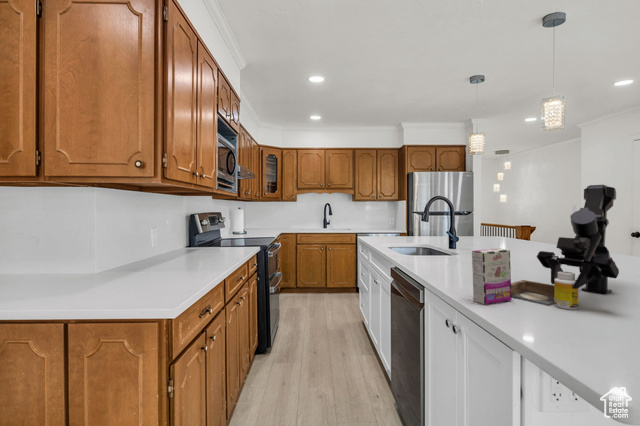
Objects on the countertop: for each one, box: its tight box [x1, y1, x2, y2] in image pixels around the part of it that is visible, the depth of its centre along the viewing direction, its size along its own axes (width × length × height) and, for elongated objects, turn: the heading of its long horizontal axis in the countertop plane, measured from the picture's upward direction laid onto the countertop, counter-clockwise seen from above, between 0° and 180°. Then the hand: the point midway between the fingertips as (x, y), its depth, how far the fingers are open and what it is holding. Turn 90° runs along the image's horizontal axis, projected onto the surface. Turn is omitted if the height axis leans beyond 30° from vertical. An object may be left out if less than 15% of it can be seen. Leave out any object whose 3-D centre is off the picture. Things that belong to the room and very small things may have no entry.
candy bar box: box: [471, 248, 513, 306], centre depth 97 cm, size 11×5×16 cm, turn 109°
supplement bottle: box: [553, 271, 580, 311], centre depth 90 cm, size 6×6×10 cm
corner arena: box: [511, 279, 555, 307], centre depth 99 cm, size 12×12×4 cm
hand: (563, 285), depth 89 cm, fingers closed on supplement bottle, 6 cm apart
